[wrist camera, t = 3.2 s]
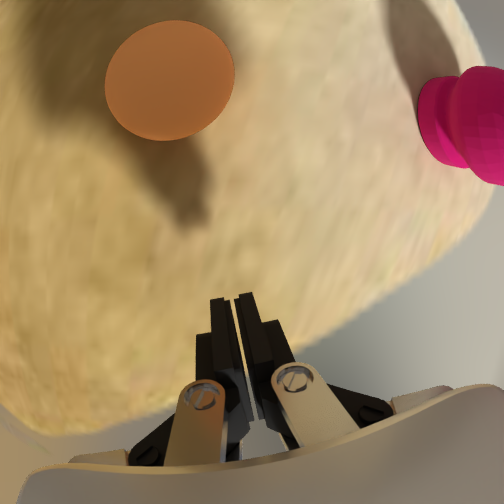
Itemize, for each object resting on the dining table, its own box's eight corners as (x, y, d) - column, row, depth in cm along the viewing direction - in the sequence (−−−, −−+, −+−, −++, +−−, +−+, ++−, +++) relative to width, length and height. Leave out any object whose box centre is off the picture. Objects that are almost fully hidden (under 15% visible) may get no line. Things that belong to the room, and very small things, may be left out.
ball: (130, 152, 12) (94, 157, 7) (118, 59, 10) (83, 22, 5) (234, 131, 12) (255, 123, 8) (220, 38, 10) (233, -10, 6)
